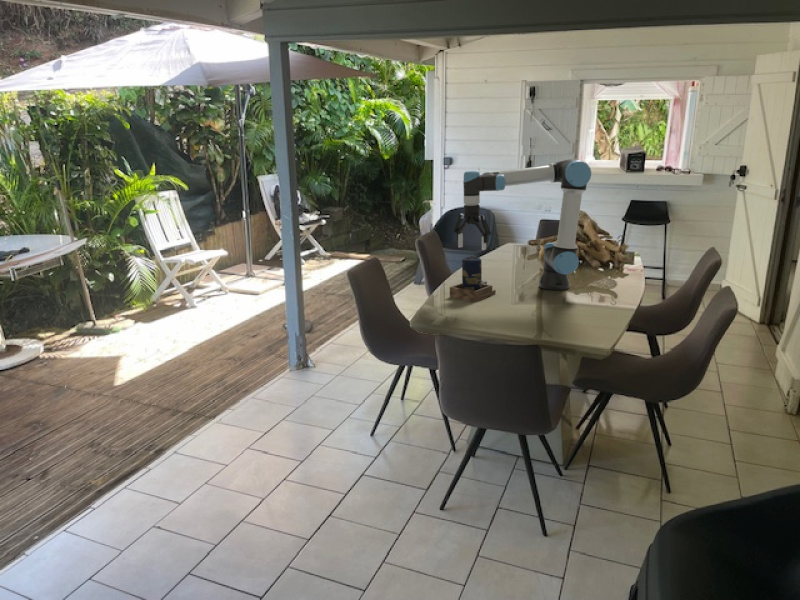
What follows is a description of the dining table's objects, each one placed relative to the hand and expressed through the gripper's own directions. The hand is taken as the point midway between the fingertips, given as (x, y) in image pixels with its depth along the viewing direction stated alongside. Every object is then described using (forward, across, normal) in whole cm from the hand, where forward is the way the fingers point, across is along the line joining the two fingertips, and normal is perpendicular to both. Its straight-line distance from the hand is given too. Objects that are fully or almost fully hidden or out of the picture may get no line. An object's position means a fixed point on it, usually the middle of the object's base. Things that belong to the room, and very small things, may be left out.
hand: (472, 248), depth 295 cm
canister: (+22, 0, 0) cm, 22 cm away
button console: (+24, +7, -14) cm, 29 cm away
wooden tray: (+24, +1, -1) cm, 24 cm away
